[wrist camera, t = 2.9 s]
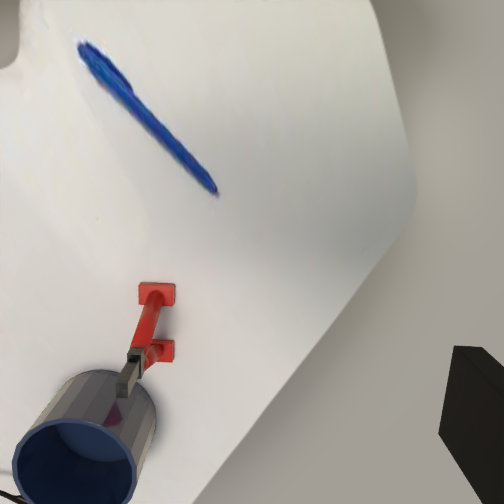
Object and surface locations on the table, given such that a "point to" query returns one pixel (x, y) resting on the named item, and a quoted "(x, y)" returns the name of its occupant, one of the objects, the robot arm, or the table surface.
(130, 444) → the pen cup
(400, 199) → the table surface
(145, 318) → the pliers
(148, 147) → the table surface
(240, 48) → the table surface
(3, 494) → the sunglasses
